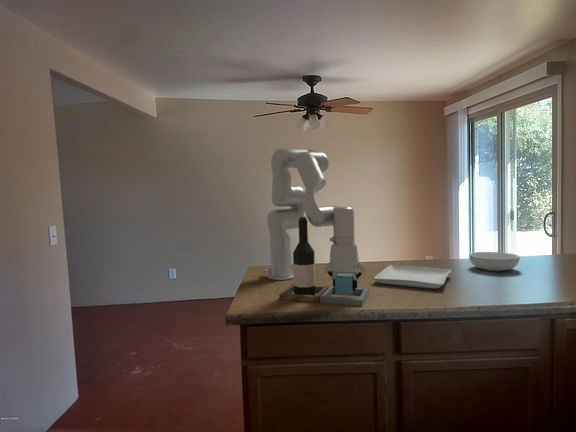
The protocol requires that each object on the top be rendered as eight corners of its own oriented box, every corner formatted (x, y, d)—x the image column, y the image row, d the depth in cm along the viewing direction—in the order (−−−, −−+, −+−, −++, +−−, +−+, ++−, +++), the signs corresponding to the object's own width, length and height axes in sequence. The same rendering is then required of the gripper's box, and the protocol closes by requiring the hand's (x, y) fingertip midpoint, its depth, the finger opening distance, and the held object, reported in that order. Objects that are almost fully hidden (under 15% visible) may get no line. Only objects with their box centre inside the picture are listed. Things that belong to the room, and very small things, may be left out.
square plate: (389, 272, 177) (389, 264, 177) (451, 277, 164) (451, 268, 163) (372, 285, 154) (372, 276, 154) (443, 293, 140) (443, 283, 140)
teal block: (335, 293, 134) (334, 277, 134) (338, 289, 140) (338, 273, 139) (351, 295, 132) (351, 278, 132) (354, 290, 138) (354, 274, 137)
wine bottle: (309, 299, 136) (307, 218, 134) (290, 296, 140) (287, 217, 138) (319, 293, 143) (317, 216, 141) (301, 291, 147) (298, 216, 145)
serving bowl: (519, 267, 178) (519, 252, 177) (519, 276, 160) (519, 260, 160) (471, 263, 189) (471, 250, 189) (466, 271, 172) (466, 257, 171)
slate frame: (320, 302, 132) (320, 297, 132) (330, 291, 146) (330, 286, 146) (362, 306, 127) (362, 300, 127) (368, 294, 141) (368, 288, 141)
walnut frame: (279, 299, 137) (279, 294, 137) (293, 289, 151) (292, 284, 151) (318, 302, 132) (318, 297, 132) (328, 291, 146) (328, 286, 146)
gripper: (318, 241, 134) (319, 290, 135) (366, 242, 128) (367, 293, 130) (323, 239, 141) (324, 285, 142) (369, 239, 135) (370, 288, 137)
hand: (345, 289), depth 136 cm, fingers closed on teal block, 6 cm apart
